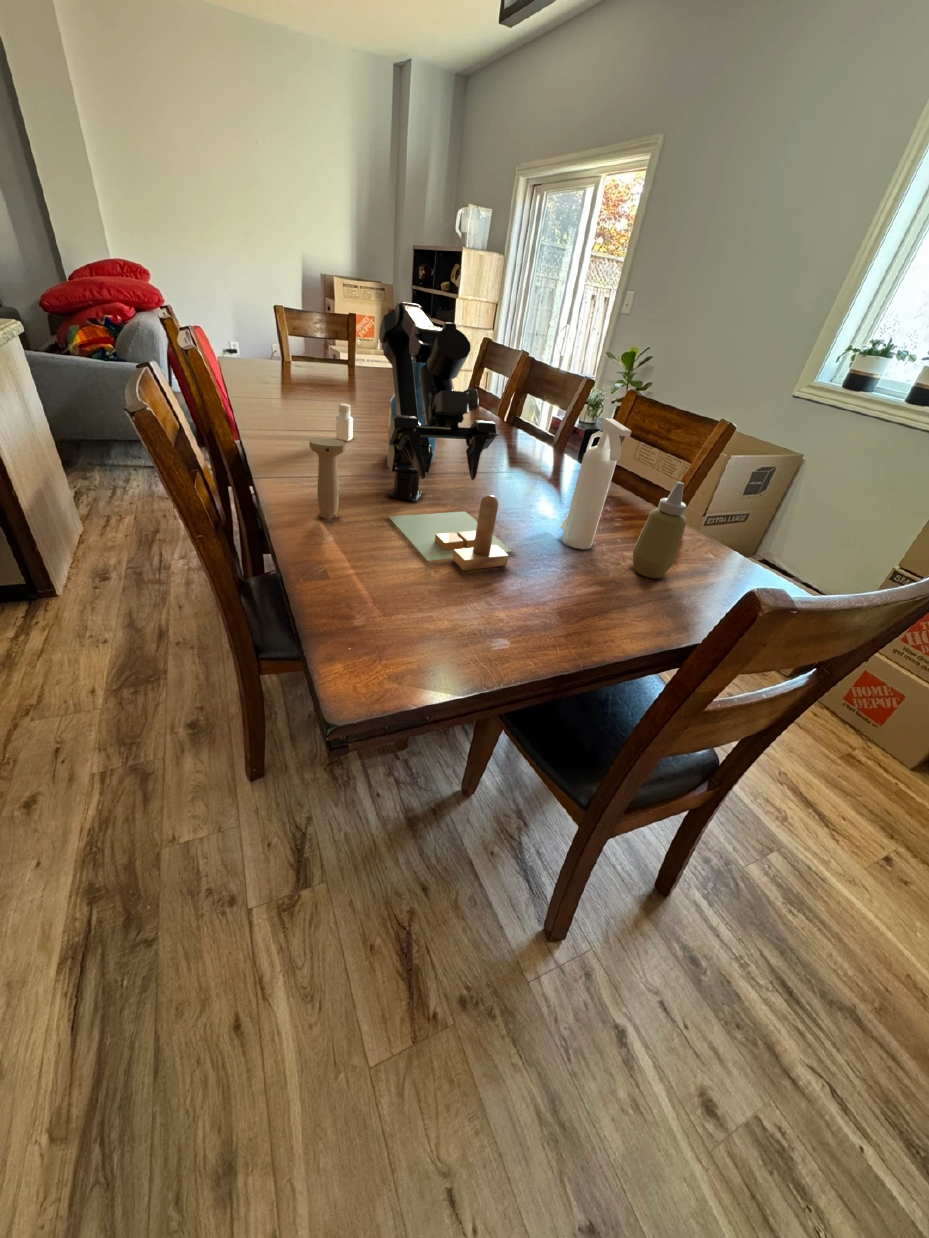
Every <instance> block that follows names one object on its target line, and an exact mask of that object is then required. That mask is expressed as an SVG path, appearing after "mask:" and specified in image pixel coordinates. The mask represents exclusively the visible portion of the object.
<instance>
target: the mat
mask: <svg viewBox="0 0 929 1238" xmlns="http://www.w3.org/2000/svg"><path fill="white" fill-rule="evenodd" d="M387 518H388V519H389V520H390V521H391V523H393V524H394V525H395V526H396V528H397V529H398V530H399V531H400V532H401V533H402V534H403V536H405V537H406V539H407V540H408V542H410V543H411V545H412V546H413V547H414V548H415V549H416V550H417V551H418V553H420V555H422V557H423V558H424V559H425V560H426V561H428V562H429V561H431V562H432V561H439V560H448V559H449V560H450V559H452V558H453V550H445V551H443V550H442V549H441V548H440V547H439V545H438V544H437V543H436V542H435V534H442V533H455V534H456V535H457V536H458V532H465V531H476V529H477V523H478V520H476V519H475V518H474V517H472V516H471V515H470V514H469V513H468V512H467V511H464V510H463V511H452V512H436V513H434V512H433V513H419V514H405V515H404V514H403V515H388V516H387ZM492 545H497V546H498V547H500V548H501V549H502V550H503V551H504V552H505V553H511V552H513V550H511V549H510V548H509V547H508V546H507V545H506V544H504V543H503V541H501V540H500V539H498V537H497V536H495V535H494V534H493V538H492V543H491V546H492ZM463 548H465V547H464V546H463Z"/></svg>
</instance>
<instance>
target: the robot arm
mask: <svg viewBox="0 0 929 1238" xmlns="http://www.w3.org/2000/svg"><path fill="white" fill-rule="evenodd" d="M457 327H458V326H457V323H455V322H454V323H453V322H446V321H445V322H444V323H443V325H442V327H440V326H436V325H434V324H433V322H431V320H430V319H429V318H428V316H427V315H426V314H425V312H424V311H423V306H422V305H420V304H418V303H413V302H407V301H400V302H397V303H396V304H395V307H394V309H393V310H391V311H389V312H388V313H386V314H384V315H383V316H382V319H381V323H380V326H379V330H378V331H379V332H378V333H379V334H378V337H379V338H378V339H379V343H380V344H381V345H382V353H383V356H384V357H385V359H386V360H387V361H388V363H390V365H391V368H392V378H393V389H394V394H395V400H396V410H397V415H396V416H395V417H394V418H393V419H392V422H391V425H390V428H389V430H387V440H388V439H389V444H390V445H391V447H390V449H389V452H388V453H387V454H386V466H387V467H388V469H389V471H390V472H391V473H394V475H393V476H394V477H393V489H392V490H391V491H390V493H389V494H388V498H390V499H397V500H403V501H408V502H413V503H417V502H418V501H419V499H420V497H421V496H422V494H423V491H422V490H420V489H419V488H420V479H421V480H425V479H426V474H429V470H430V468H431V465H432V464H431V459H432V455H433V452H432V448H431V445H430V444H429V438H428V437H430V438H437V439H448V440H449V439H451V440H452V439H453V440H465V444H466V446H467V448H466V450H465V453H466V459H467V466H468V472H469V476H470V479H471V481H474V480H475V479H476V476H477V473H478V469H479V463H480V459H481V455H482V452H484V451H485V450H487V449H488V448H489V447H490V446H491V444H492V443H493V442H494V441H495V439H496V438H497V436H499V433H498V426H497V425H496V422H494V421H492V420H482V419H481V420H478V419H475V420H474V421H473V422H472V424H471V425H470V427H460V426H459V424H462V423H463V421H464V415H468V414H469V411H470V412H474V411H476V410H477V409H478V408H479V394H478V390H477V389H476V388H467V389H465V390H463V391H459V390H455V389H454V382H453V379H455V378H457V377H458V375H459V374H460V372H461V370H462V368H463V366H464V364H465V363H466V361H467V358H468V356H469V354H470V352H471V342H470V341H469V339H468V337H467V336H466V334H464V333H463V332H462V331H460V330H459V329H458V328H457ZM413 360H414V361H415V362H416V363H426V364H425V365H424V366H423V367H422V368H421V370H420V383H419V385H420V386H421V390H422V398H423V408H422V413H423V414H425V422H426V425H420V424H419V418H418V409H417V399H416V389H415V379H414V369H413Z"/></svg>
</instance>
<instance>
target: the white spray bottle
mask: <svg viewBox="0 0 929 1238" xmlns="http://www.w3.org/2000/svg"><path fill="white" fill-rule="evenodd" d="M599 428H601V429H603V431H600V430H598V431H596V432H594V433H592V434H591V435H590V438H589V440H588V443H587V446H586V449H585V452H584V453H583V456H582V460H581V464H580V467H579V472H578V476H577V479H576V483H575V487H574V491H573V494H572V498H571V502H570V506H569V510H568V513H567V515H566V516H565V518H564V519H563V521H562V522H561V524H560V527H559V528H560V529H562V530H563V533H562V536H561V541H562V543H564V545H566V546H568V547H571V548H574V549H579V550H588V549H591V548H592V546H593V543H594V540H595V537H596V533H597V530H598V526H599V523H600V519H601V516H602V513H603V509H604V506H605V503H606V499H607V496H608V493H609V488H610V486H611V483H612V480H613V475H614V472H615V468H616V467H617V463H618V461H619V460H621V454H622V442H621V437H628V438H630V437H631V434H632V432H633V431H632V430H631V429H630V428H628V427H626V426H625V425H623V424H622V423H620V422H618V421H617V420H616V419H614V418H609V417H603V419H602V421H601V423H600V425H599ZM598 437H599V439H598V442H597V444H596V445H595V446H592V445H593V442H594V439H595V438H598Z"/></svg>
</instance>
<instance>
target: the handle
mask: <svg viewBox="0 0 929 1238" xmlns="http://www.w3.org/2000/svg"><path fill="white" fill-rule="evenodd" d="M346 448H347V444H346V441H344V440H338V439H336V438H330V437H329V438H328V437H312V438H310V439H309V449H310V450H311V451H313V452H314V453H316V454H317V458H318V466H317V467H318V468H317V503H318V504H317V505H318V509H319V517H321V518H324V519H328V520H330V519H335V518H337V517H338V511H339V502H340V501H339V500H340V489H339V486H340V485H339V473H338V472H339V470H338V456H339V455H342V454H343V453H344V452H346V450H347V449H346Z"/></svg>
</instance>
